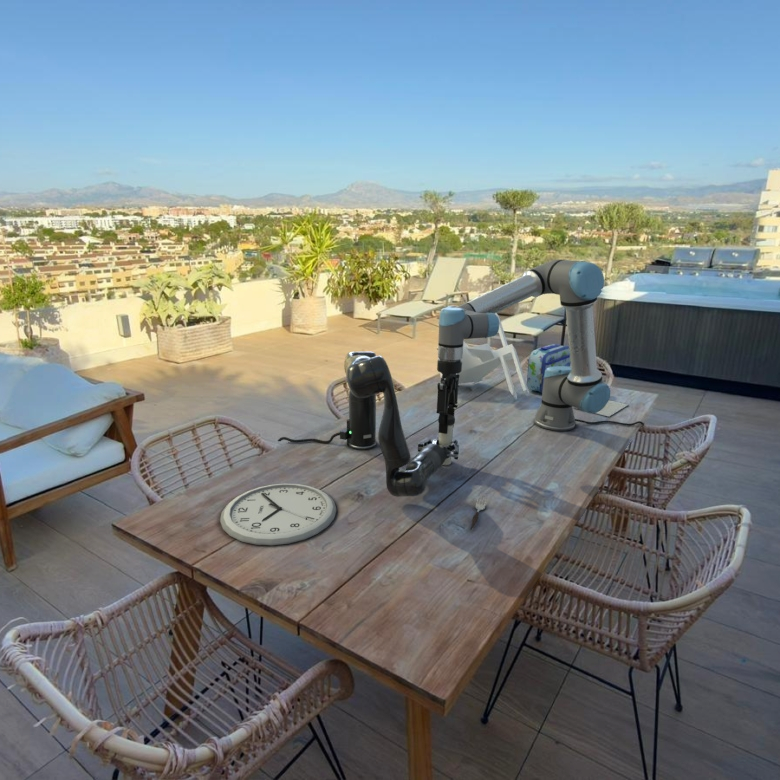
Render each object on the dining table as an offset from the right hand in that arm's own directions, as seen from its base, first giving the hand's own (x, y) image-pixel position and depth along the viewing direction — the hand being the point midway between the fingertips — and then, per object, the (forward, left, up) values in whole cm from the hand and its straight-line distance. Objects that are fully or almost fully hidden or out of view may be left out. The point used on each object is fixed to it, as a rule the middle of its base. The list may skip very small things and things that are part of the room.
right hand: (446, 429), depth 167 cm
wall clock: (+43, +38, -11) cm, 59 cm away
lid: (0, 0, +4) cm, 4 cm away
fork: (-9, +32, -11) cm, 35 cm away
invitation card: (-66, -67, -11) cm, 95 cm away
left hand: (-1, -3, -5) cm, 5 cm away
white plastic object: (-15, -79, -11) cm, 81 cm away
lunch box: (-47, -90, -11) cm, 102 cm away
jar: (0, 0, -11) cm, 11 cm away
